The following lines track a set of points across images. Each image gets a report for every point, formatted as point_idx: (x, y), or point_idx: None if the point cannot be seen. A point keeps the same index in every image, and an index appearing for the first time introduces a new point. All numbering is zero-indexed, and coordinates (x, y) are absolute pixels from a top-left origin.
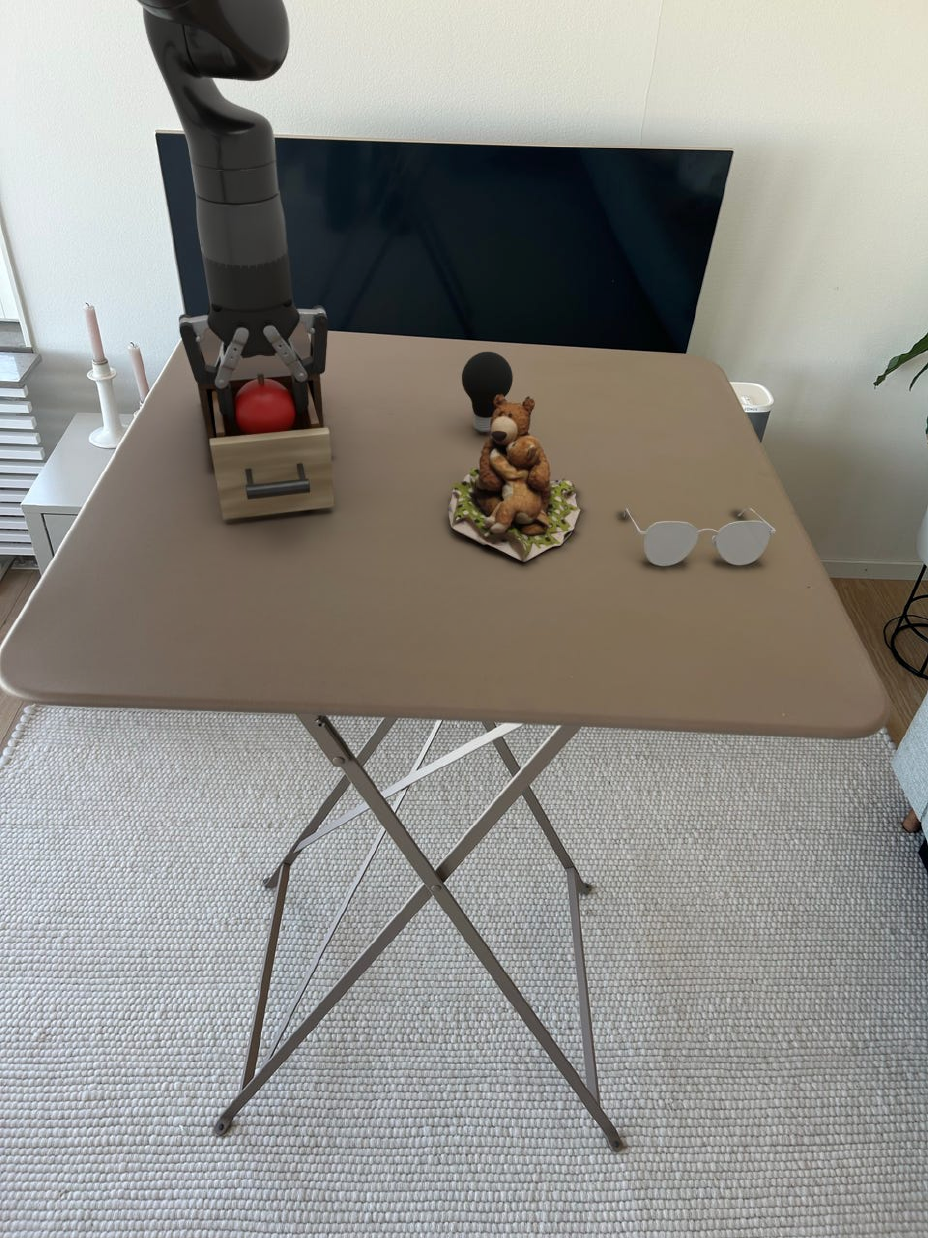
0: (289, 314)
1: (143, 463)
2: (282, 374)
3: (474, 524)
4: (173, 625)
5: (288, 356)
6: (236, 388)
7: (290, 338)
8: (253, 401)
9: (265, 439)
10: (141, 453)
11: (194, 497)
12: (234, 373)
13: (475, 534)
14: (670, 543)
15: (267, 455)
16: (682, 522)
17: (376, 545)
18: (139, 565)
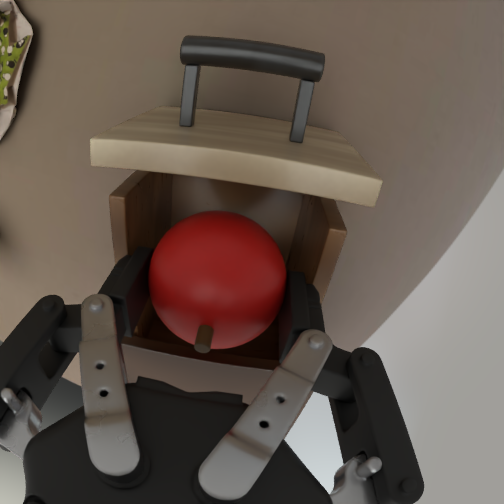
0: (40, 472)
1: (377, 300)
2: (163, 356)
3: (10, 29)
4: None
5: (95, 355)
6: None
7: None
8: (242, 279)
9: (245, 154)
10: (371, 317)
11: (352, 214)
12: (249, 382)
13: (17, 19)
14: None
15: (249, 142)
16: None
17: (129, 19)
18: (455, 103)
